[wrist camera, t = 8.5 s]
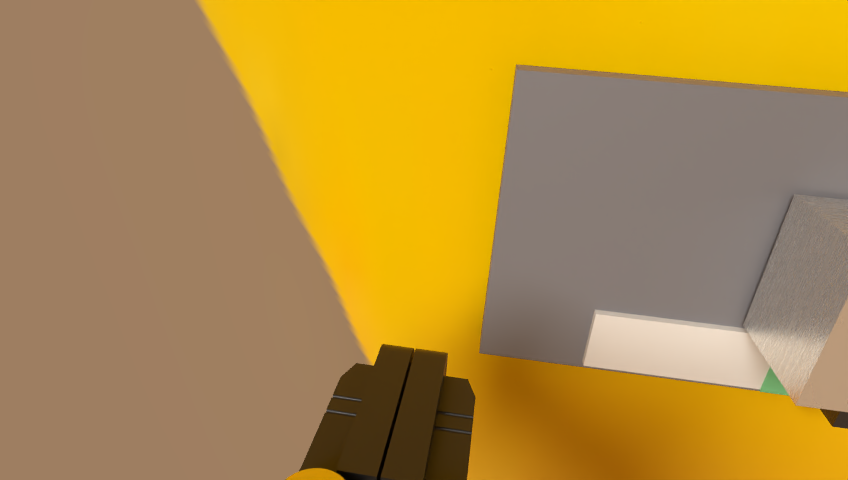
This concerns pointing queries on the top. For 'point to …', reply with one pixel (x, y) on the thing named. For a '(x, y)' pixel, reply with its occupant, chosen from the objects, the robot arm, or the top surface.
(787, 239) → the block
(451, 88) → the top surface
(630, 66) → the top surface
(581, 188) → the base
